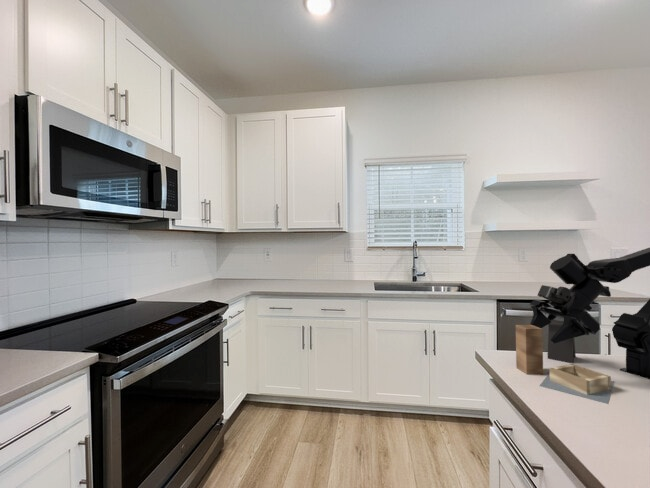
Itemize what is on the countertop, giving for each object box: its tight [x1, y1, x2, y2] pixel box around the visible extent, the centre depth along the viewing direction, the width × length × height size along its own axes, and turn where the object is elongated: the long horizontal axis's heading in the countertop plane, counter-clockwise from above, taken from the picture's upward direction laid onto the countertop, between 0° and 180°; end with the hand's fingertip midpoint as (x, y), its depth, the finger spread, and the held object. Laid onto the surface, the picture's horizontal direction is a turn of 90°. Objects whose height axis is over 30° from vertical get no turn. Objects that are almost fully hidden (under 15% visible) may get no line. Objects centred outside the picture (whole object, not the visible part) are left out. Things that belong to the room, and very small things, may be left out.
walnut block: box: [515, 324, 544, 375], centre depth 85 cm, size 4×4×13 cm
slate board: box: [538, 372, 615, 405], centre depth 76 cm, size 16×12×1 cm
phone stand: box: [547, 319, 577, 364], centre depth 95 cm, size 9×6×12 cm, turn 136°
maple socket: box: [549, 363, 612, 395], centre depth 76 cm, size 8×8×3 cm
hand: (539, 336), depth 85 cm, fingers open, 9 cm apart
